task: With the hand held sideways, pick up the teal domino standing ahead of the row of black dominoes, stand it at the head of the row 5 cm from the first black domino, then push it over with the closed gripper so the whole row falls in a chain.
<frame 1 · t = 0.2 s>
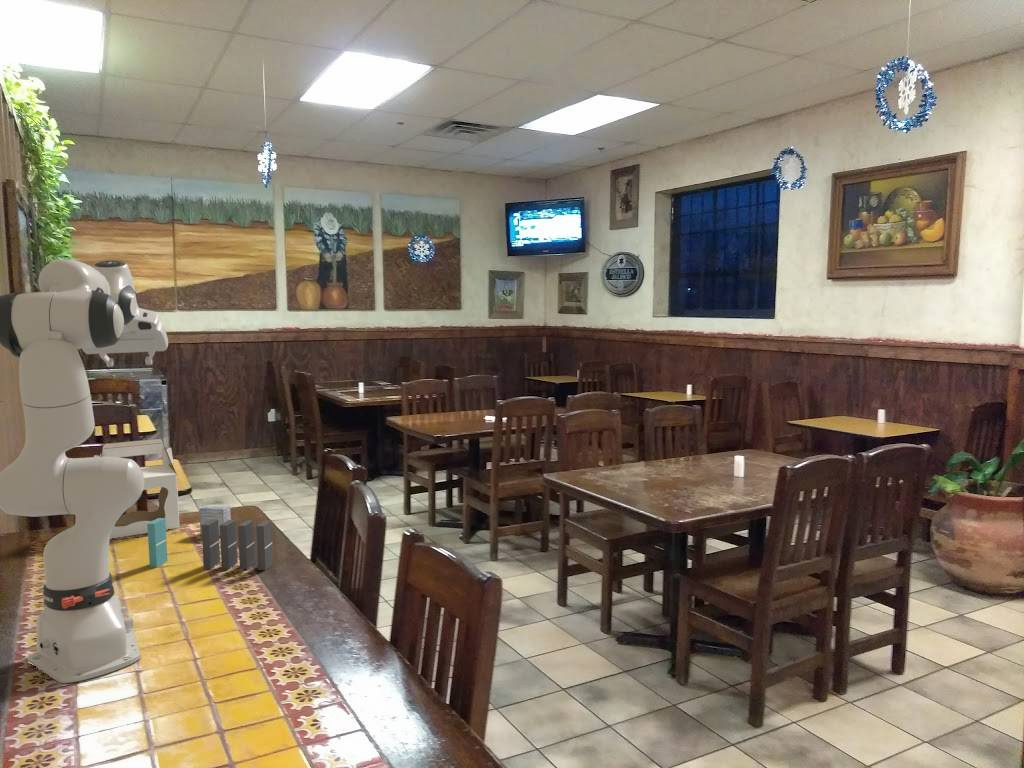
hand: (130, 364, 193), 54 cm above the table, tool tilted 25°, fingers open, 8 cm apart
black domino 3: (247, 566, 191), on the table
teal domino: (158, 564, 193), on the table
gable box: (138, 529, 225), on the table
black domino 1: (211, 565, 192), on the table
black domino 4: (265, 567, 191), on the table
black domino 2: (229, 566, 192), on the table
medicine box: (216, 534, 219), on the table
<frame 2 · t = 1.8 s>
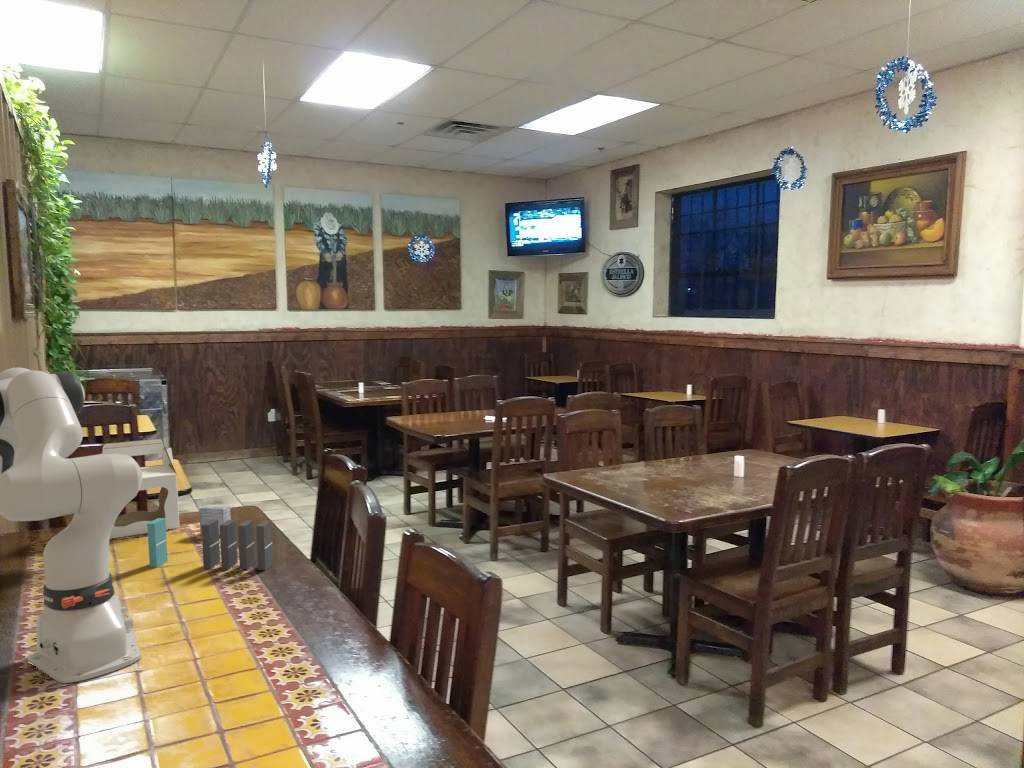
hand: (112, 488, 193), 21 cm above the table, tool horizontal, fingers open, 8 cm apart
nothing on the table moved.
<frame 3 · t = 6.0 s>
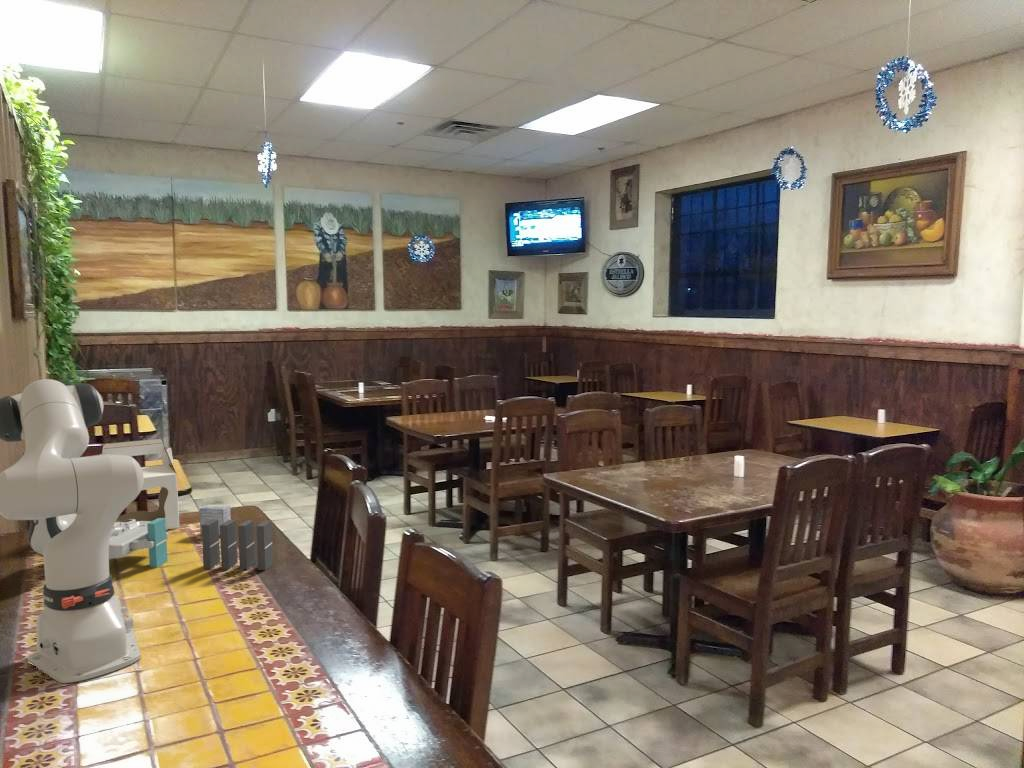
hand: (160, 540, 193), 7 cm above the table, tool horizontal, fingers closed on teal domino, 5 cm apart
teal domino: (158, 564, 193), on the table, touching gripper
everything else where it was.
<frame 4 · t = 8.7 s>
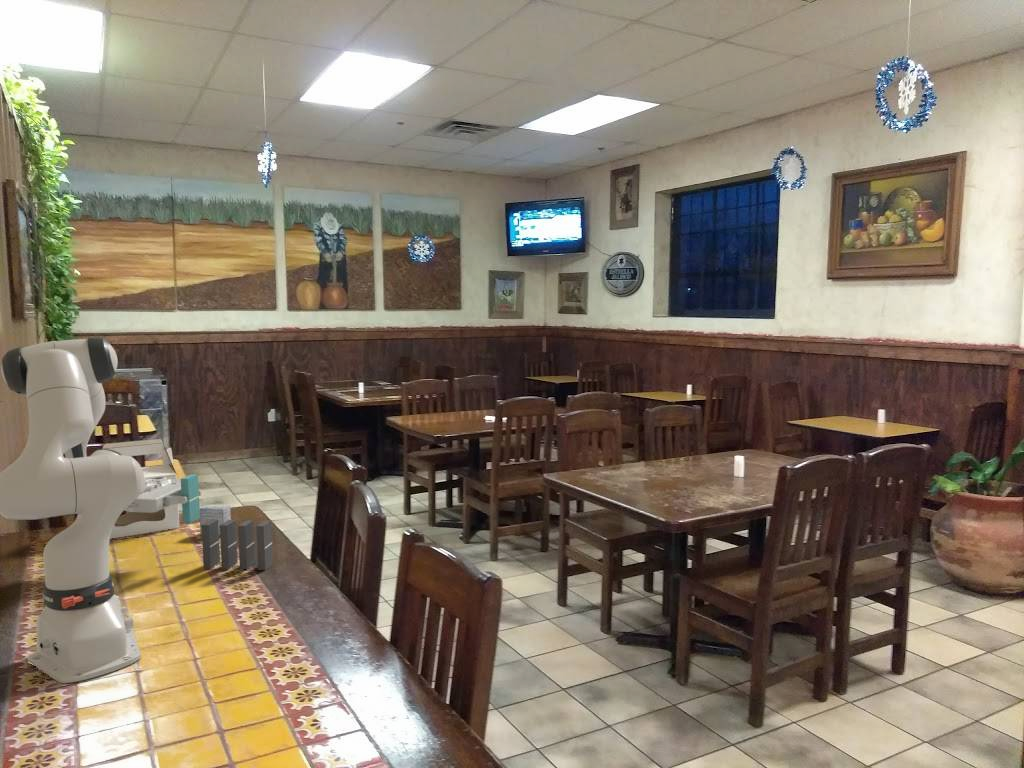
hand: (193, 496, 190), 19 cm above the table, tool horizontal, fingers closed on teal domino, 5 cm apart
teal domino: (191, 520, 191), point 12 cm above the table, touching gripper
everything else where it was.
when the fingers open (8 cm above the table, at t = 11.2 s): teal domino drops 1 cm, on the table.
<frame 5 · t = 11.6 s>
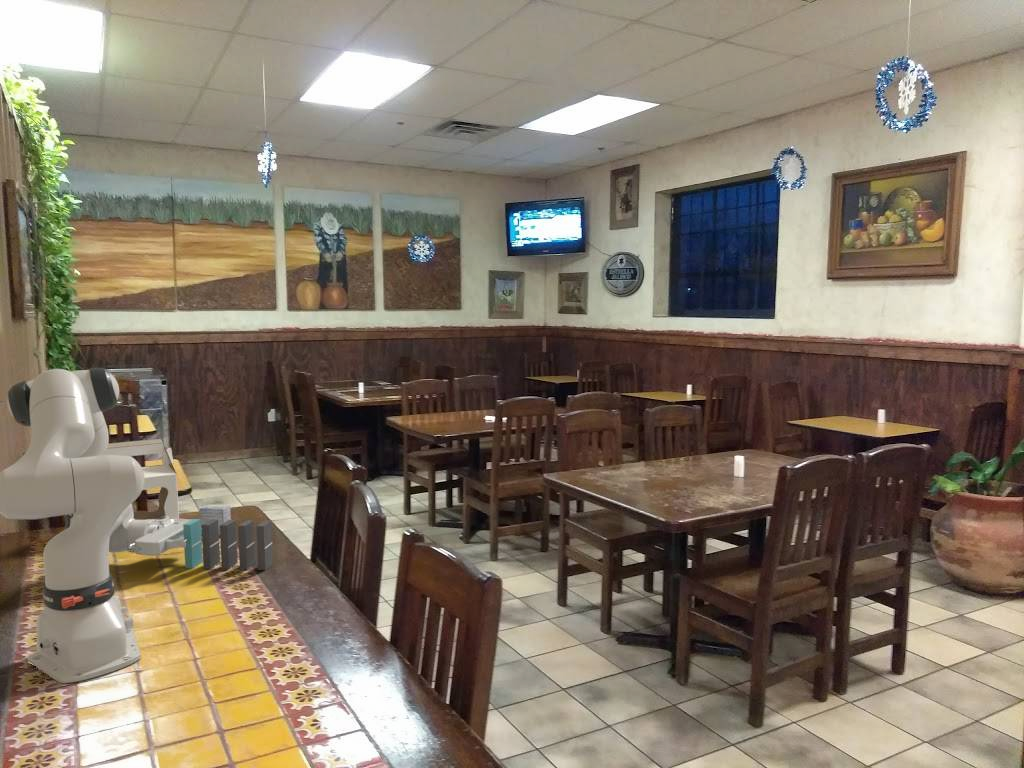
hand: (196, 537, 192), 8 cm above the table, tool horizontal, fingers open, 8 cm apart
teal domino: (194, 565, 192), on the table
everything else where it was.
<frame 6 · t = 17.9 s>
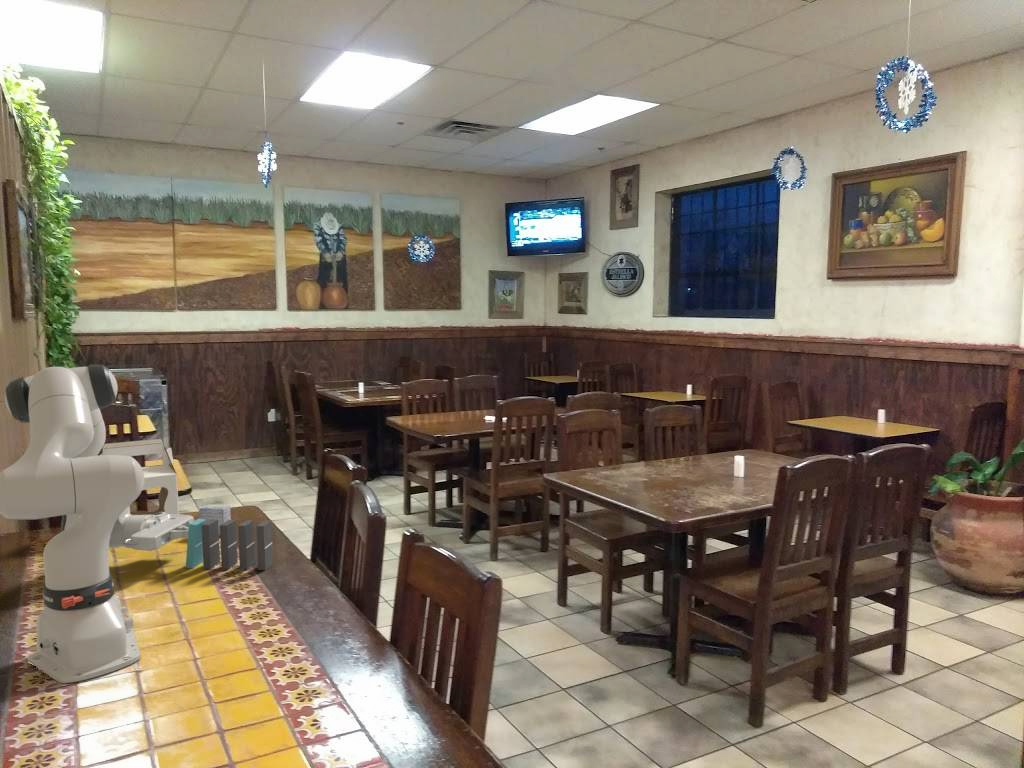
hand: (192, 532, 192), 9 cm above the table, tool horizontal, fingers closed
teal domino: (194, 564, 192), on the table, tilted 8°
everything else where it was.
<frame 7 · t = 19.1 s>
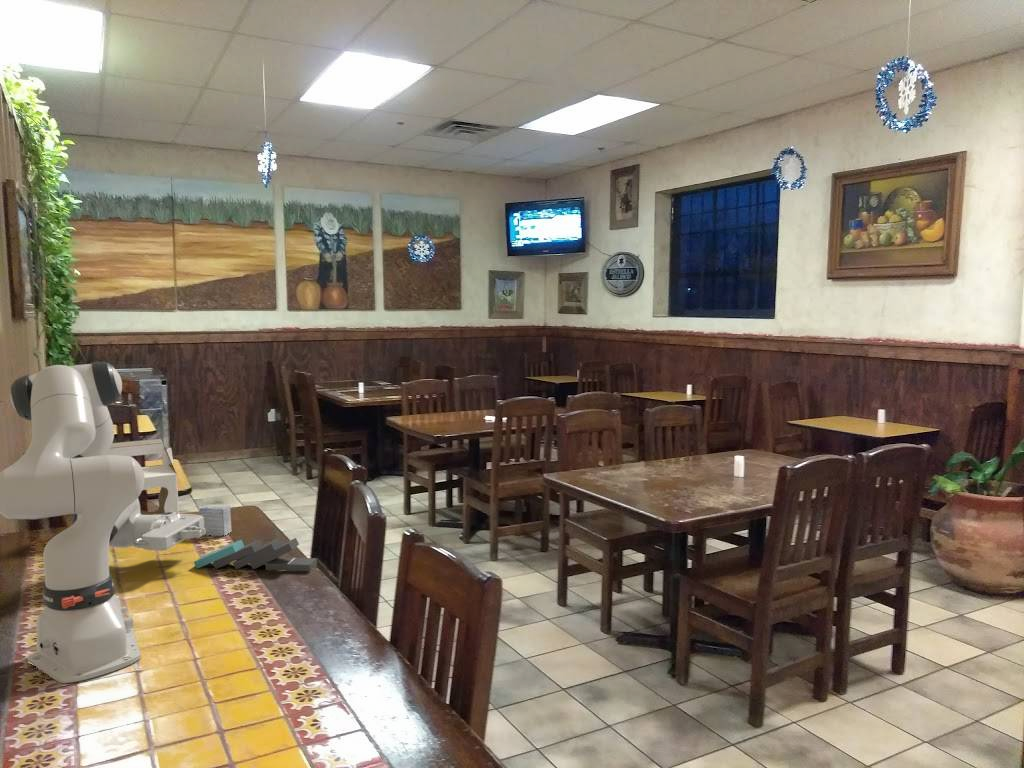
hand: (202, 532, 191), 9 cm above the table, tool horizontal, fingers closed
black domino 3: (255, 563, 191), point 1 cm above the table, tilted 63°, touching black domino 2, black domino 4
teal domino: (200, 562, 192), point 1 cm above the table, tilted 66°, touching black domino 1
black domino 1: (218, 562, 192), point 1 cm above the table, tilted 65°, touching black domino 2, teal domino
black domino 4: (269, 563, 190), point 1 cm above the table, tilted 90°, touching black domino 3
black domino 2: (238, 563, 191), point 1 cm above the table, tilted 63°, touching black domino 1, black domino 3
everything else where it was.
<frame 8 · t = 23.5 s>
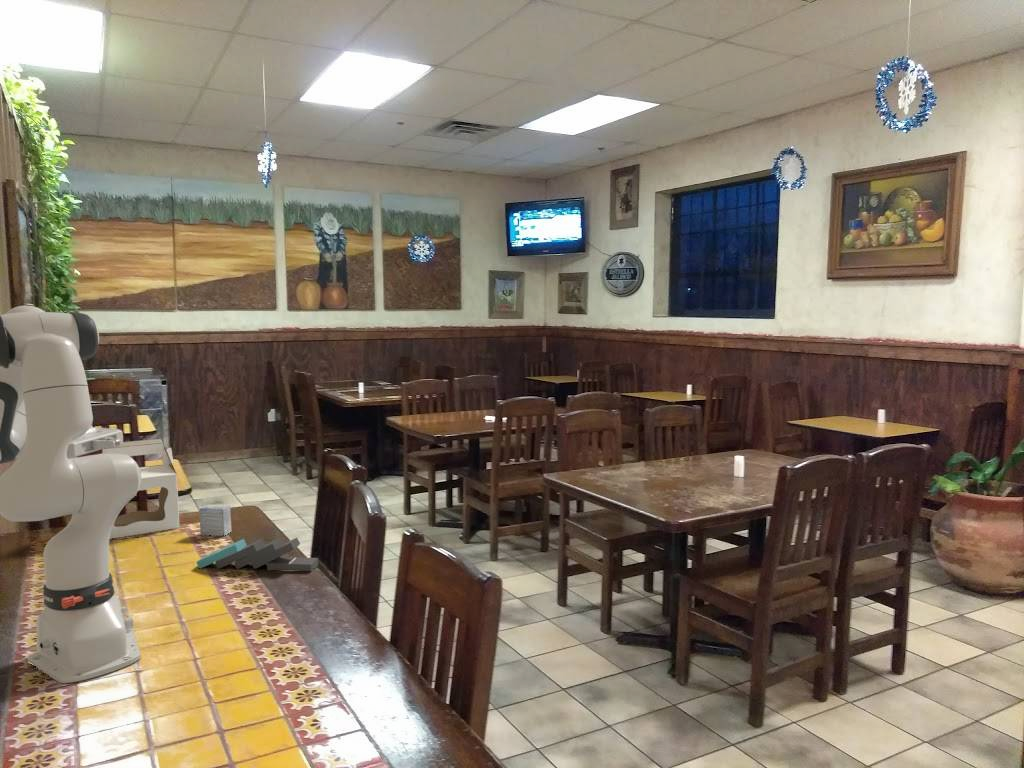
hand: (117, 443, 180), 35 cm above the table, tool horizontal, fingers closed
at the end: black domino 4 tilted 90°; teal domino tilted 66°; teal domino inside the target area (1.9 cm from its centre), point 0.9 cm above the table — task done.
